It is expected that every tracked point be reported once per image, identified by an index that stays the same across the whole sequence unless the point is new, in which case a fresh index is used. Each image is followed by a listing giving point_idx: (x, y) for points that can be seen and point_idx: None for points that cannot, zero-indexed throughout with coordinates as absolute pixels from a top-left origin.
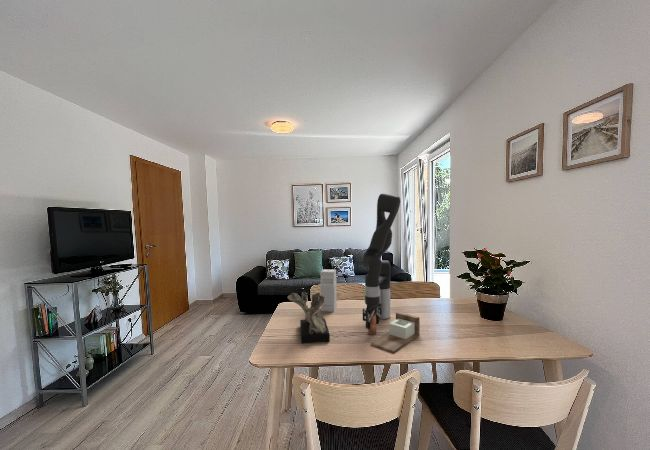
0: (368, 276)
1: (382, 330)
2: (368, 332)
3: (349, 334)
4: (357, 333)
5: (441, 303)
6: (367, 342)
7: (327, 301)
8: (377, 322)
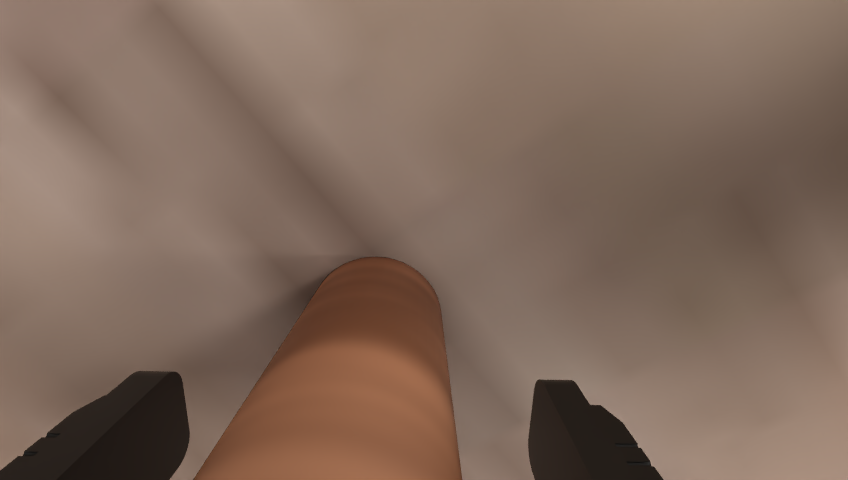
0: None
1: None
2: (316, 291)
3: (35, 27)
4: (190, 127)
5: None
6: None
7: None
8: (541, 461)
